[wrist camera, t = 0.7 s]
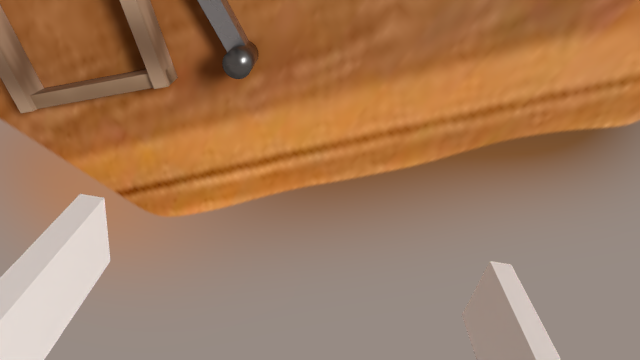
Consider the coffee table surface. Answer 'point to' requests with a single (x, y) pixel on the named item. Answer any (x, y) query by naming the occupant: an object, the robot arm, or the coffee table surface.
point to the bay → (28, 93)
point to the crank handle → (231, 38)
